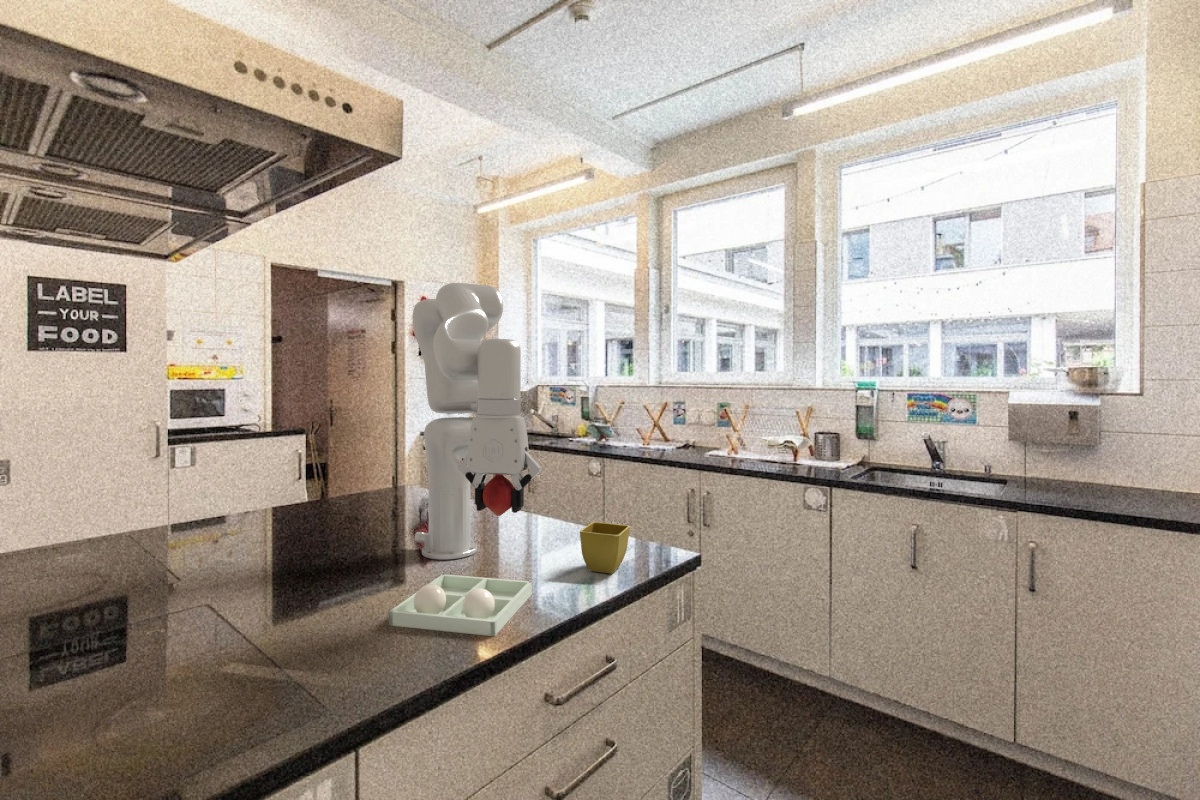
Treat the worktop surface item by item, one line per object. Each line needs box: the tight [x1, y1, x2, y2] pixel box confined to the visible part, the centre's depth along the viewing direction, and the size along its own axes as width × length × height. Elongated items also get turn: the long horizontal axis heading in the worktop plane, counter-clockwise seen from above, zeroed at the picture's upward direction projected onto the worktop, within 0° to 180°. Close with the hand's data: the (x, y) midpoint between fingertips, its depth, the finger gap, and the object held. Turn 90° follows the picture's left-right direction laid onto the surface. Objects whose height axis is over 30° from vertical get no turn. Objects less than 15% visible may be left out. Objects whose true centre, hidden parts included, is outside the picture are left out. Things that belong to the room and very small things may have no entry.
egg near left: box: [414, 583, 446, 614], centre depth 95 cm, size 5×5×5 cm
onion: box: [483, 474, 514, 517], centre depth 101 cm, size 6×6×8 cm
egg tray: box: [388, 573, 533, 637], centre depth 98 cm, size 18×18×3 cm
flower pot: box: [579, 521, 631, 575], centre depth 122 cm, size 9×9×9 cm
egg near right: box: [463, 588, 495, 619], centre depth 93 cm, size 5×5×5 cm
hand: (499, 509), depth 101 cm, fingers closed on onion, 5 cm apart
